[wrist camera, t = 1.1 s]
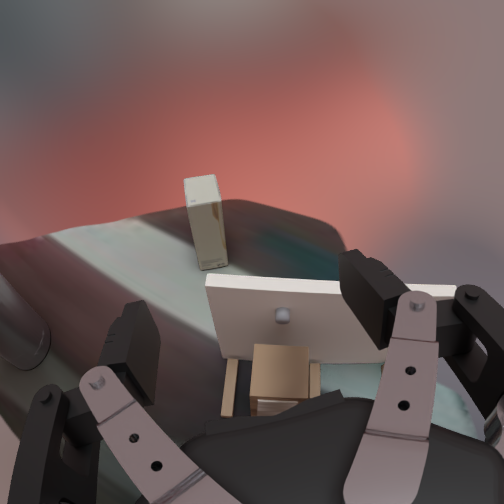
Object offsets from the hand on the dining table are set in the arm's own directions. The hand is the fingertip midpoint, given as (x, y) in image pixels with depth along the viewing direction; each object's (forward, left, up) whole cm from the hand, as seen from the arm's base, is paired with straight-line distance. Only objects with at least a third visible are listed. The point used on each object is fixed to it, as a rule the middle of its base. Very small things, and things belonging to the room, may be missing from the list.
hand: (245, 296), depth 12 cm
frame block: (+2, +1, -25) cm, 25 cm away
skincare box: (-8, +23, -25) cm, 35 cm away
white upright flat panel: (+7, +3, -25) cm, 26 cm away
